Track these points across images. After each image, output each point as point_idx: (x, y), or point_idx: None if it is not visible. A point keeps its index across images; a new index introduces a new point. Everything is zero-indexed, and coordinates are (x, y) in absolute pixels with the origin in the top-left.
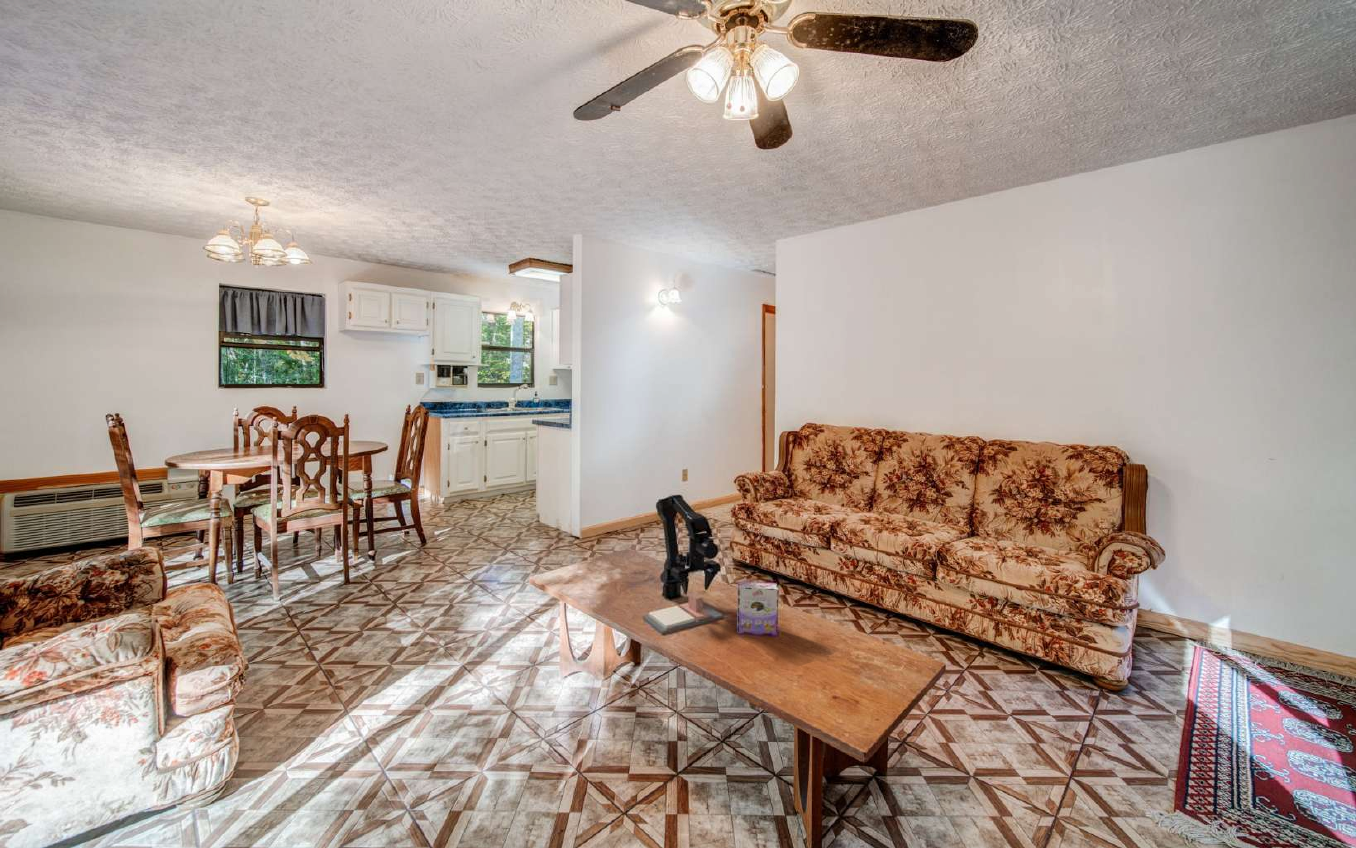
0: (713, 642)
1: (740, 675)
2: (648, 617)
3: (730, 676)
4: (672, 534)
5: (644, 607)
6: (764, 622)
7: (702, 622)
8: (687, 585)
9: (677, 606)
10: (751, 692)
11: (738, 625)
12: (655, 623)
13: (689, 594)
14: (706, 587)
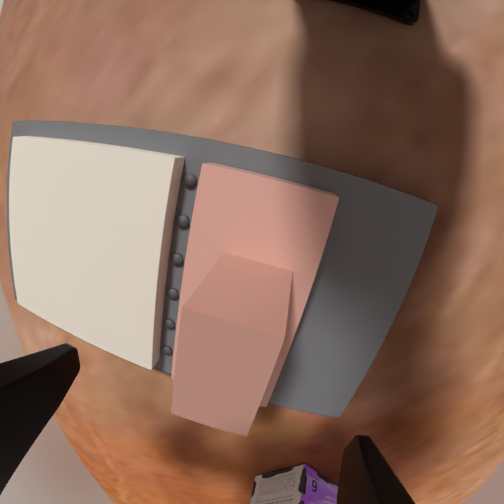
0: (142, 445)
1: (120, 492)
2: None
3: (102, 482)
4: None
5: (102, 3)
6: None
7: None
8: (10, 461)
9: (170, 171)
10: (111, 500)
11: (251, 501)
12: None
13: (182, 318)
14: (342, 478)
